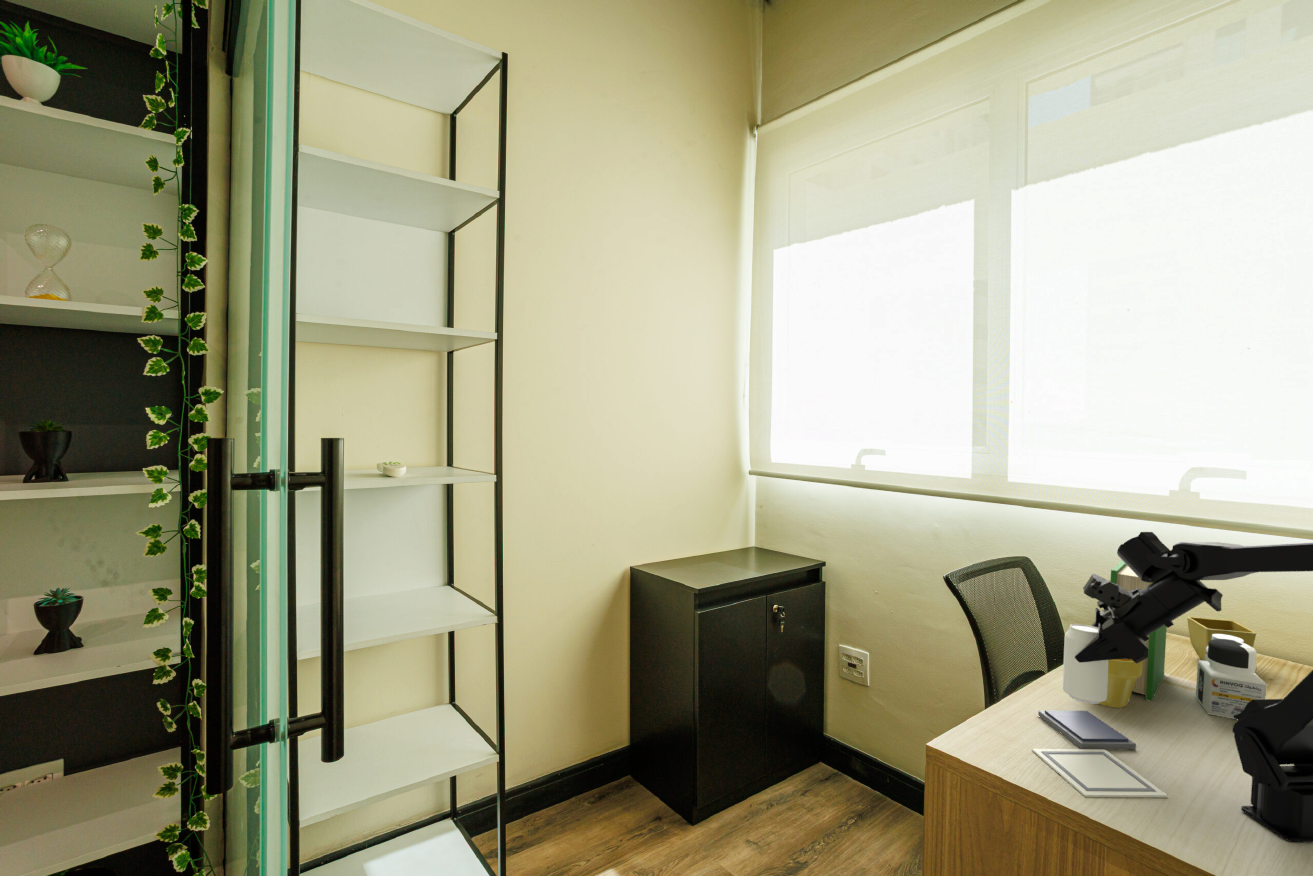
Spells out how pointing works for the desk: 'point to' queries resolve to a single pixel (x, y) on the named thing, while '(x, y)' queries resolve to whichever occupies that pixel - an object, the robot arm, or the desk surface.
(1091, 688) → the beverage can
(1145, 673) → the hardback book
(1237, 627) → the flower pot
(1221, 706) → the container
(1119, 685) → the plant pot
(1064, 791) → the desk surface
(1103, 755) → the print card
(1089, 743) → the ink pad
